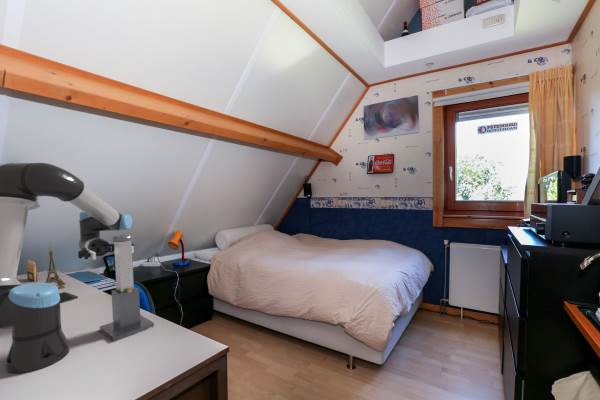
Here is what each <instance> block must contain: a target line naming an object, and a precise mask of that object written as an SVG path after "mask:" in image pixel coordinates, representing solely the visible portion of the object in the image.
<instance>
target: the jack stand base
mask: <svg viewBox="0 0 600 400" xmlns="http://www.w3.org/2000/svg"><path fill="white" fill-rule="evenodd" d="M140 304H141V303H140V289H139V288H137V287H135V286H134V290H132V289H130V290H127V292H124V293H118V292H117V291H116V289H114V290H111V306H112V310H111V311H112V322H108V323H106V324H103V325H100V326H99V332H101V333H102V334H104V336H106V338H107V337H108V339H110V340H111V341H112V342H117V341H120V340H123V339H126V338H128V337H130V336H133V335H135V334H138V332H139V333H141V332H144V331H146V329H147V330H149V329H151V328H150V327H152V328H154V327H155V322H153V321H151V320H150V319H149V318H147V317H145V316H143V315H141V310H140V309H141V307H140ZM153 326H154V327H153ZM148 328H149V329H148ZM143 330H144V331H143Z"/></svg>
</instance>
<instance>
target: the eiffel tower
mask: <svg viewBox="0 0 600 400" xmlns="http://www.w3.org/2000/svg"><path fill="white" fill-rule="evenodd" d="M49 247H50V248H49V249H50V250H48V254H49V257H48V258H49V260H48V261H49V262H48V268H47V269H48V270H47V271H46V272H47V276H46V279H45V282H44V283H50V284H53V283H55V284H57V288H58V290H62V289H65V288H66V284H67V283H66V282H64V280H62V279H61V278H60V275H58V269H57V268H56V265H55V264H56V263H55V260H54V254H53V253H54V250H53V249H52V246H51V243H50V246H49ZM52 274H53V275H54V276H52V277H51V275H52Z"/></svg>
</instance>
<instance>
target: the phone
mask: <svg viewBox="0 0 600 400" xmlns="http://www.w3.org/2000/svg"><path fill="white" fill-rule="evenodd" d="M59 295H60V304H63V303H66V302H69V301H73V300H77V299H78V295H75V294H71V293H69V292H66V291H63V292H59Z"/></svg>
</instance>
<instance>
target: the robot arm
mask: <svg viewBox="0 0 600 400" xmlns="http://www.w3.org/2000/svg"><path fill="white" fill-rule="evenodd" d="M38 197H50V198H51V197H52V198H55V199H56V198H57V199H58V200H60V201H61V202H67V203H68V202H69V203H71V205H73V206H74V207H76V208H78V209H79V210H81V212H79V214H78V215H79V220H78V222H79V223H78V224H79V236H80V238H79V241H78V243H77V245H78V248H79V249H80V250H79V251H78V252H77V255H78V257H77V258H78V259H82V258H84V260H89V259H91V260H94V261H96V260H97V257H102V256H105V255H107V254H108V253H115V250H114V243H110V242H108V240H107V239H103V238H101V232H108V231H109V232H111V231H113V232H116V231H117V232H118V231H119V232H121V231H128V230H129V229H131V227H132V225H133V218H132V216H131V215H130V214H126V213H119V212H118V211H117V210H116V209H115V208H113V207H111V206H110V205H109V204H108V203H107V202H105V201H104V200H102V199H101V198H100V197H99V196H98V195H96V194H95V193H94V192H93V191H91V190H90V189H88V188H87V186H86V185H85V183H84V181H83V180H81V179H80V178H79V177H77V176H76V175H74V174H73V173H71V172H70V171H67V170H66V169H64V168H61V167H59V166H57V165H54V164H51V163H46V162H22V163H21V162H17V163H15V162H6V163H0V330H11V336H12V337H11V339H12V340H11V341H12V342H11V345H10V348H9V351H8V354H7V357H6V360H5V370H6V371H7V372H8V373H11V374H23V373H29V372H34V371H37V370H41V369H44V368H46V367H48V366H50V365H53V364H55V363H57V362H59V361H60V360H63V358H65V357H66V356H67V355H68V354H69V353H70V342H69V341H68V339H67V337H66V334H65V333H64V331H63V329H62V318H61V317H62V315H61V314H62V313H61V303H60V295H59V293H60V292H59V290H60V289H58V285H56V284H53V283H45V282H35V283H34V282H33V283H30V282H29V283H26V284H25V283H24V284H22V283H21V282H20V280H18V279H17V277H18V276H17V275H18V269H19V264H20V258H21V253H22V248H23V242H24V237H25V231H26V226H27V221H28V220H27V219H28V216H29V210H30V208H32V207H33V206H34V205H37V204H36V203H37V198H38ZM134 253H135V244H134V243H132V254H134Z"/></svg>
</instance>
